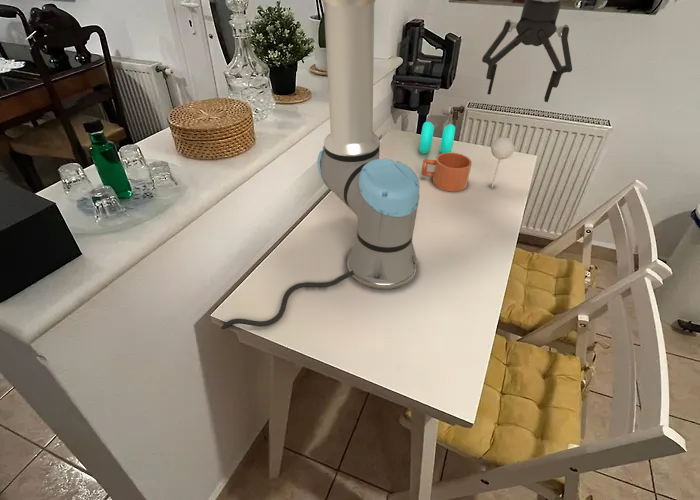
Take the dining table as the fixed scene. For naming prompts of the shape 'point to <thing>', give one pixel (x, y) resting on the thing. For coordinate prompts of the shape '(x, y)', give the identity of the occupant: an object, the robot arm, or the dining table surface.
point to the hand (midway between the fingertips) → (517, 96)
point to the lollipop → (502, 150)
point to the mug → (449, 171)
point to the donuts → (428, 136)
